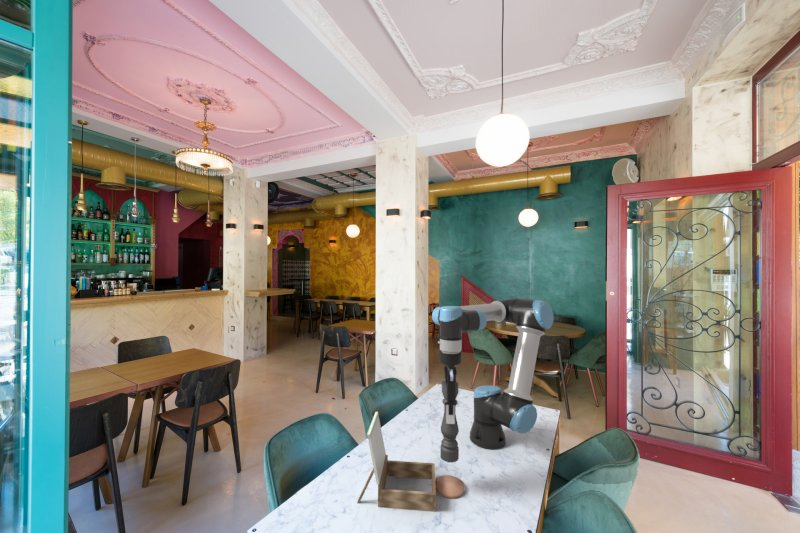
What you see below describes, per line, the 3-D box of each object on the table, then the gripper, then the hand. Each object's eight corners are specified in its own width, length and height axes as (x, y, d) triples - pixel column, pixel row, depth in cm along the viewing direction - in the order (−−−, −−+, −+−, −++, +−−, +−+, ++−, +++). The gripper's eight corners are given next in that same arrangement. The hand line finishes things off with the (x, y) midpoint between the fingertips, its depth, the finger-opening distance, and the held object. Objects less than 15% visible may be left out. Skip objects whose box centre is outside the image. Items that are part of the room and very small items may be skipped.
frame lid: (386, 454, 112) (386, 411, 113) (379, 485, 96) (379, 434, 96) (374, 453, 113) (375, 411, 113) (366, 484, 96) (366, 434, 97)
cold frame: (434, 477, 110) (434, 443, 111) (435, 512, 94) (436, 471, 95) (366, 473, 112) (366, 439, 113) (356, 505, 97) (357, 466, 97)
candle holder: (438, 452, 108) (439, 380, 109) (455, 451, 109) (456, 380, 109) (442, 462, 102) (443, 386, 103) (460, 462, 102) (461, 386, 103)
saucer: (462, 479, 109) (462, 476, 110) (466, 499, 100) (466, 496, 100) (434, 477, 110) (434, 474, 110) (435, 497, 100) (435, 493, 100)
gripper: (438, 345, 116) (437, 407, 115) (440, 357, 98) (439, 432, 97) (458, 345, 115) (458, 408, 114) (464, 358, 97) (464, 433, 96)
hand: (449, 419), depth 106 cm, fingers closed on candle holder, 5 cm apart
